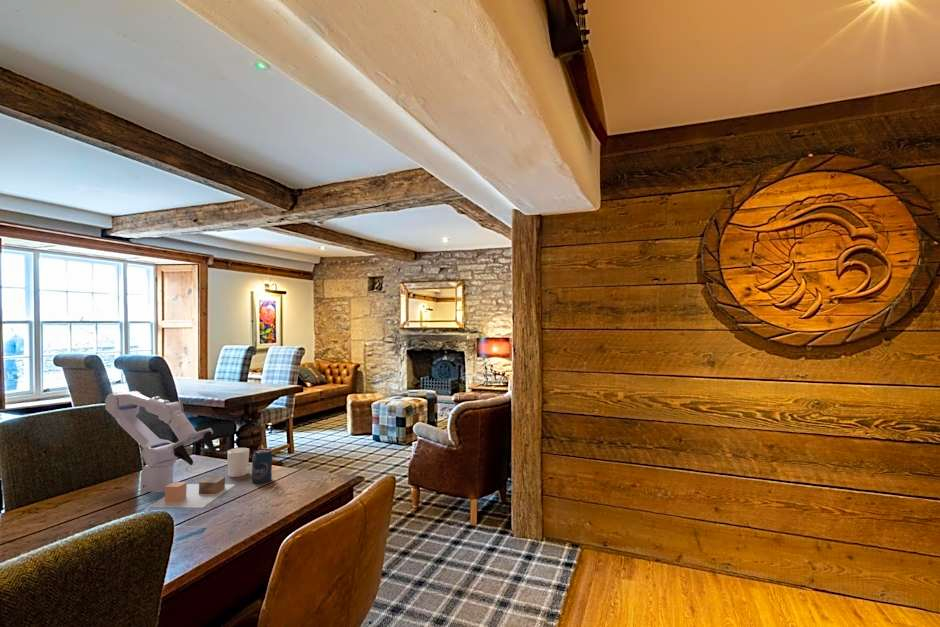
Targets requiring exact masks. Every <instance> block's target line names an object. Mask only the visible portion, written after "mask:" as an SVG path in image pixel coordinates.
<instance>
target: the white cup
mask: <svg viewBox="0 0 940 627" xmlns="http://www.w3.org/2000/svg"><path fill="white" fill-rule="evenodd" d="M226 454H227V475H228V476H229V477H231V478H237V477H243V476H245V475H247V474H248V467H249V458H250V448H247V447H235V448H231V449H228V450H227V451H226Z"/></svg>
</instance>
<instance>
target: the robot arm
mask: <svg viewBox="0 0 940 627" xmlns="http://www.w3.org/2000/svg"><path fill="white" fill-rule="evenodd" d="M104 400H105V401H104V405H105V410H106V411H107V412H108V413H109V414H110V415H111V416H112V417H113V418H114V419H115V420H116V422H117V423H118V425H119V426H120V427H121V428H122V429H123V430H124V431H125V432H127V434H129V436H131V437H132V439H133V440H134V441H135V442H136V443H137V444H138V445H139V446H141V447H142V450H141V457H142V458H143V461H144V463H145V464H146V465H144V466H143V467H142V469H141V471H140V472H141V473H140V481H139V482H140V487H139V490H138V492H142V493H143V492H147V493H148V492H149V493H150V492H152V493H155V492H157V493H160V492H162V493H165V486H167V485H169V484H171V483H173V482H174V467H175V466H174V464H175V463H176V462H177V460H178V459H181V460H182V461H185V462H186V463H187V464H188V465H190V466H192V465H194V460H193V459H192V457H191V456H190V454H189V453H188V451H187V450H186V446H189V445H192V444H193V443H195V442H197V441H199V440H201V439H202V440H203V441H202V442H203V444H204V445H205V446H206V447H207V448H208V450H209V451H210V453H211V454H212V455H214V454H215V453H216V448H215V446H214V441H213V434H214V430H213V429H212V427H209V428H206V429H201V430H198V431H197V430H196V429H195V427H194V426H193V424H192V423H191V421H190V420H189V419H188V418H187V416H186V414H185V413H184V410H185V409H184V404H183V403H181V402H180V401H174V402H173V401H172V402H171V401H170V400H169V399H164V398H161V396H160V395H159V396H157V395H156V396H153V397H151V398H150V397H148V396H146V395H144V394H141V391H137V390H132V391H125V392H116V393H108V395H107V396H106V398H105V399H104ZM140 407H142V408H144V409H145V411H146V412H148V413H150V414H153V415H156V416H158V417H157V418H158V420H160V421H163V422H164V423H165V424H167V425H168V426H169V428H170V429H171V431H172V432H173V434H174V435H175V436H176V437H177V439H178V440H177V441H176V442H172V441H170V440H168V439H162V438H160V437H159V436H158V435H156V434H155V433H154V432H153V431H152V430H151V429H150V428H149V427H148V426H147V425H146V424H145V423H144V422H143V421H141V420H140V419H139V418H138V417H137V415H138V414H139V413H140Z"/></svg>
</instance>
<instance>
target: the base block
mask: <svg viewBox="0 0 940 627" xmlns="http://www.w3.org/2000/svg"><path fill="white" fill-rule="evenodd" d="M198 484H199V494H217V493H218V492H220V491H221V490H223V489H224V488H225V484H226V477H225V476H207V477H206V478H204V479H203V480H201V481H199V482H198Z"/></svg>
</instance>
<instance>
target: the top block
mask: <svg viewBox="0 0 940 627" xmlns="http://www.w3.org/2000/svg"><path fill="white" fill-rule="evenodd" d="M187 484H188V482H187V481H173V483H171V484H169V485H167V486H165V492H164V497H165V502H179V501H180V500H182V499H183V498H185V497H186V489H187Z"/></svg>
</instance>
